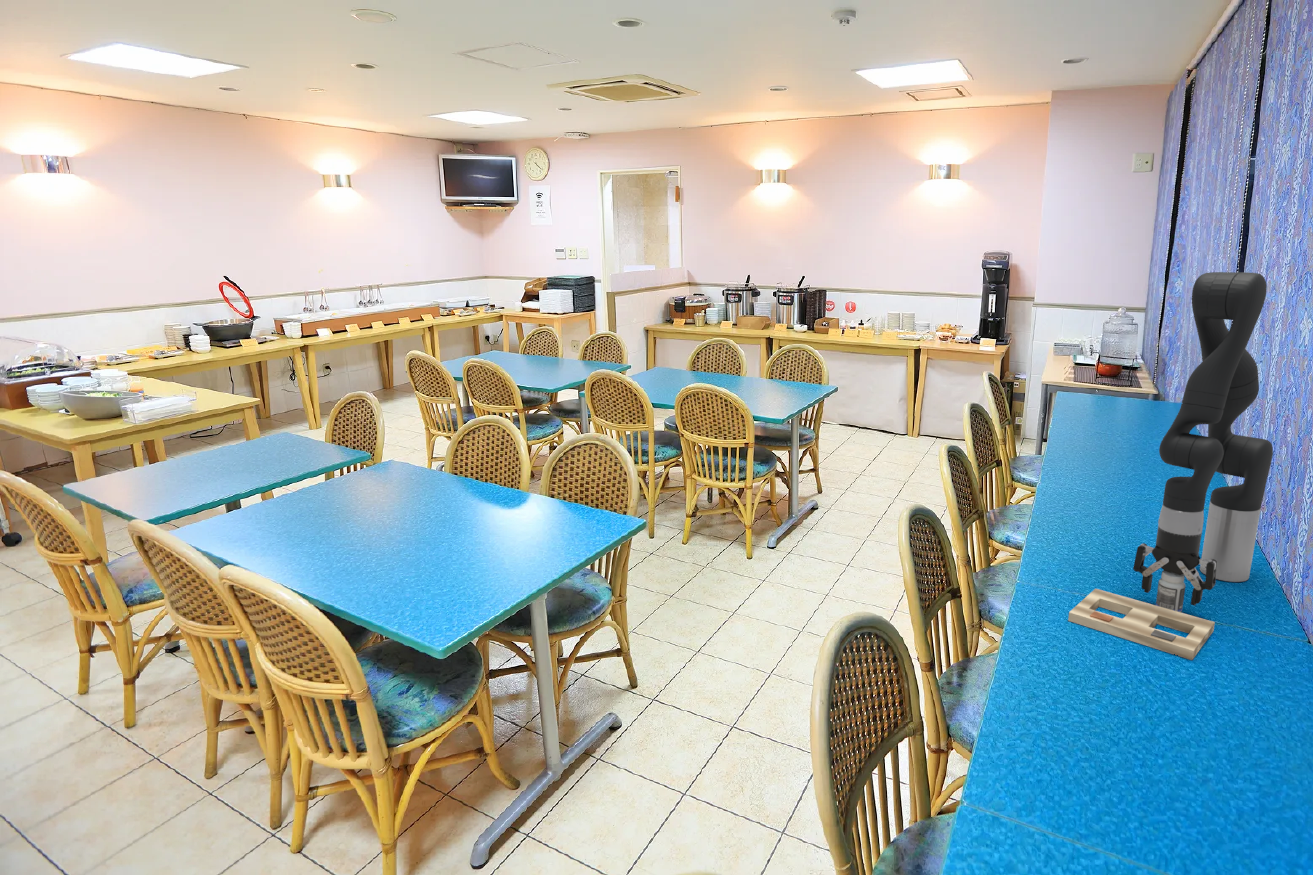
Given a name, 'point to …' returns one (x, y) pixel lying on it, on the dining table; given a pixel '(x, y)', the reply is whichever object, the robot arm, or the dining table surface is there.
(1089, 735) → the dining table surface
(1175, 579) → the pill bottle
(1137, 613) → the socket board
